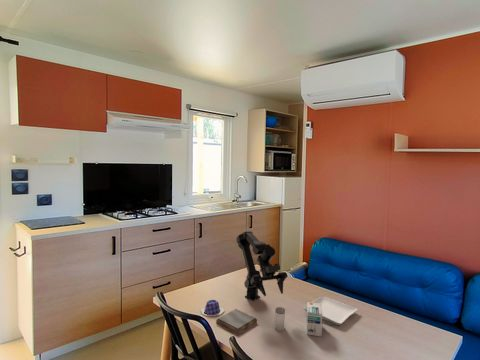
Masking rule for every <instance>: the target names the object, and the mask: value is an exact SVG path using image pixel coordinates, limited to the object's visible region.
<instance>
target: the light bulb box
mask: <svg viewBox="0 0 480 360" xmlns="http://www.w3.org/2000/svg"><path fill="white" fill-rule="evenodd" d="M311 302H312V301H311ZM311 302H310V301H307V304H306V305H307V311H306V335H307V334H308V336H309V335H310V336H316V337H322V335H323V334H322V333H323V332H322V329H323V319H322V310H321V304H318V303H311Z"/></svg>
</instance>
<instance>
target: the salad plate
mask: <svg viewBox="0 0 480 360" xmlns="http://www.w3.org/2000/svg"><path fill="white" fill-rule="evenodd" d="M311 303H318V304H321V310H322V320H324V319H325V320H324V321H327V322H329V323H331V322H332V323H331V324H334V325H337V326H340V325H342V324H343V323H344V322H346V320H347V319H348V318H350V317H351V316H352V315H353V314H355V313H357V312H358V310H359V309H358V308H357V307H355V306H351V305H349V304H346V303H343V302H341V301H339V300H336V299H333V298H329V297H326V296H324V295H322V296H320V297H318V298H316V299H314V300H313V301H311ZM302 309H303V310H304V311H305V312H307V304H306V305H304V306H303V307H302Z"/></svg>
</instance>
